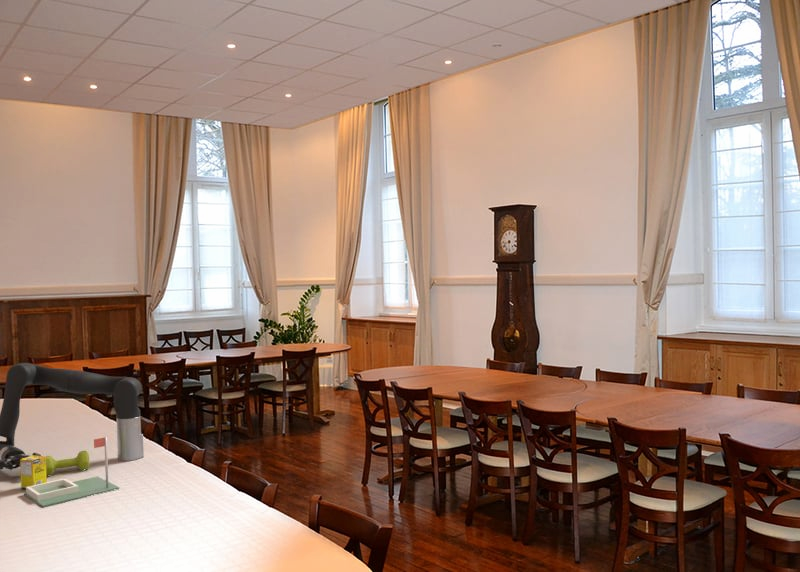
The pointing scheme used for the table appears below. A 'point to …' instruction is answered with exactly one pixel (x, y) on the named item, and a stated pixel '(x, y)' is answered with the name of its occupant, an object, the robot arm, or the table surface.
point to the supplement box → (33, 471)
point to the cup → (71, 486)
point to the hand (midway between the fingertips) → (24, 464)
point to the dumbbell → (67, 462)
